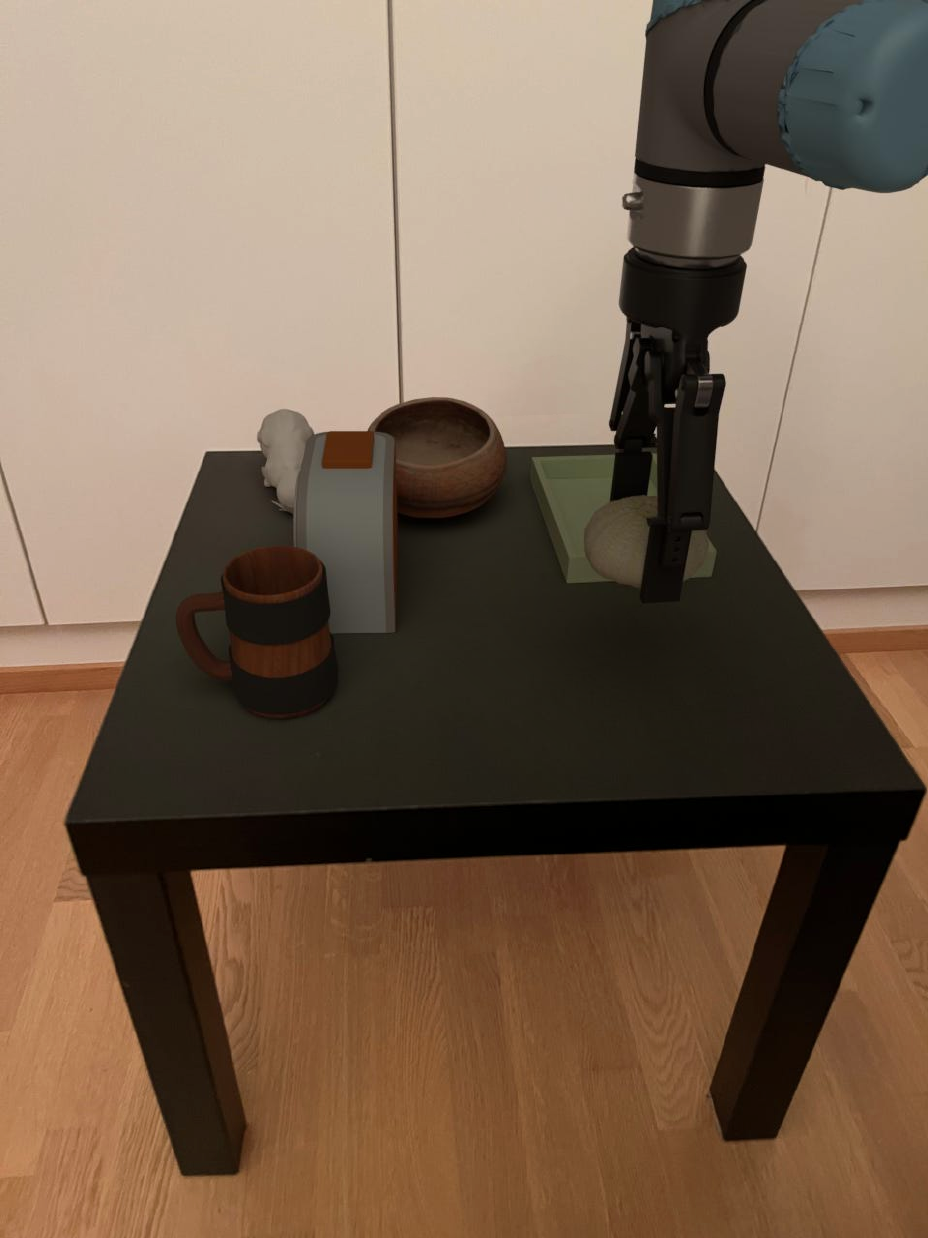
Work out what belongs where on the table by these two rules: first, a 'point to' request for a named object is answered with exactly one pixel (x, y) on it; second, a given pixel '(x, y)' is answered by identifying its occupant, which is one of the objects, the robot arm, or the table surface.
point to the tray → (582, 507)
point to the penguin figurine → (283, 452)
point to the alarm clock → (351, 525)
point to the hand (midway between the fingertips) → (640, 562)
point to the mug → (269, 631)
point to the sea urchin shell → (630, 540)
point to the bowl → (443, 456)
